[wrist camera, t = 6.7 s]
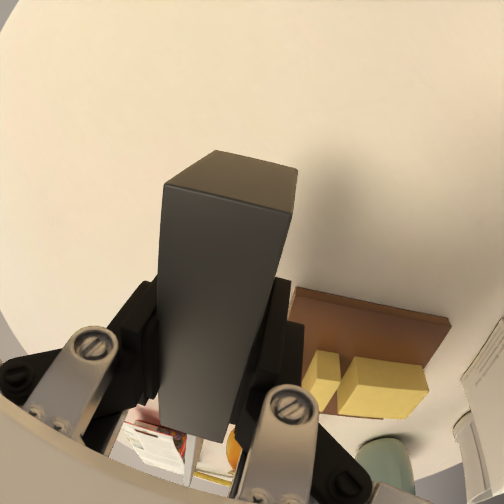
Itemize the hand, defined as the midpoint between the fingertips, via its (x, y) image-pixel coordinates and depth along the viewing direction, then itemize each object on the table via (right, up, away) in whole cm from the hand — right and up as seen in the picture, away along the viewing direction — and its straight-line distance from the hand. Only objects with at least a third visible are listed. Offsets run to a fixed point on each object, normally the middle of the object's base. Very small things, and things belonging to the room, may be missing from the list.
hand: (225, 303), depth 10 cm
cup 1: (+18, -24, +23) cm, 37 cm away
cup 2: (+31, -20, +18) cm, 42 cm away
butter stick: (+13, -10, +15) cm, 22 cm away
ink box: (-12, -32, +30) cm, 45 cm away
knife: (-1, -3, +2) cm, 4 cm away
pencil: (-5, -36, +31) cm, 48 cm away
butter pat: (+7, -8, +15) cm, 18 cm away
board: (+10, -8, +16) cm, 21 cm away
